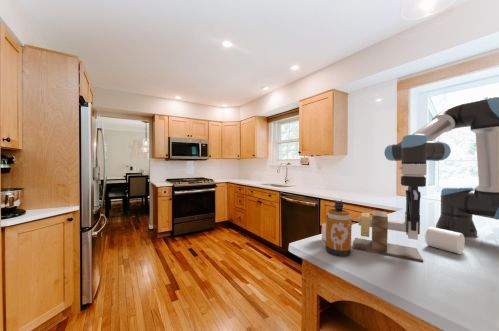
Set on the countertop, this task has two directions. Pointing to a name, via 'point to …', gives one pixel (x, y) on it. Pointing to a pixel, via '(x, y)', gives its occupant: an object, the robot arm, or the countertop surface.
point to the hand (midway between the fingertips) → (411, 236)
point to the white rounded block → (445, 240)
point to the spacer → (365, 224)
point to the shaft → (397, 224)
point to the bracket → (384, 240)
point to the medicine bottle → (324, 231)
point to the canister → (338, 230)
